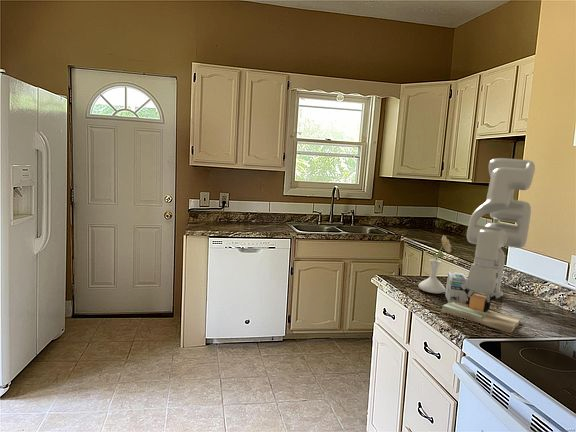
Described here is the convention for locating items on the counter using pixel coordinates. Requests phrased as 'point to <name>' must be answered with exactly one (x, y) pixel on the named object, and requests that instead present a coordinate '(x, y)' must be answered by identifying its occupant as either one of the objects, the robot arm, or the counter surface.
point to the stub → (477, 302)
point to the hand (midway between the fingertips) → (477, 308)
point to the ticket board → (482, 316)
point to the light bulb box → (455, 287)
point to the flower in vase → (435, 272)
